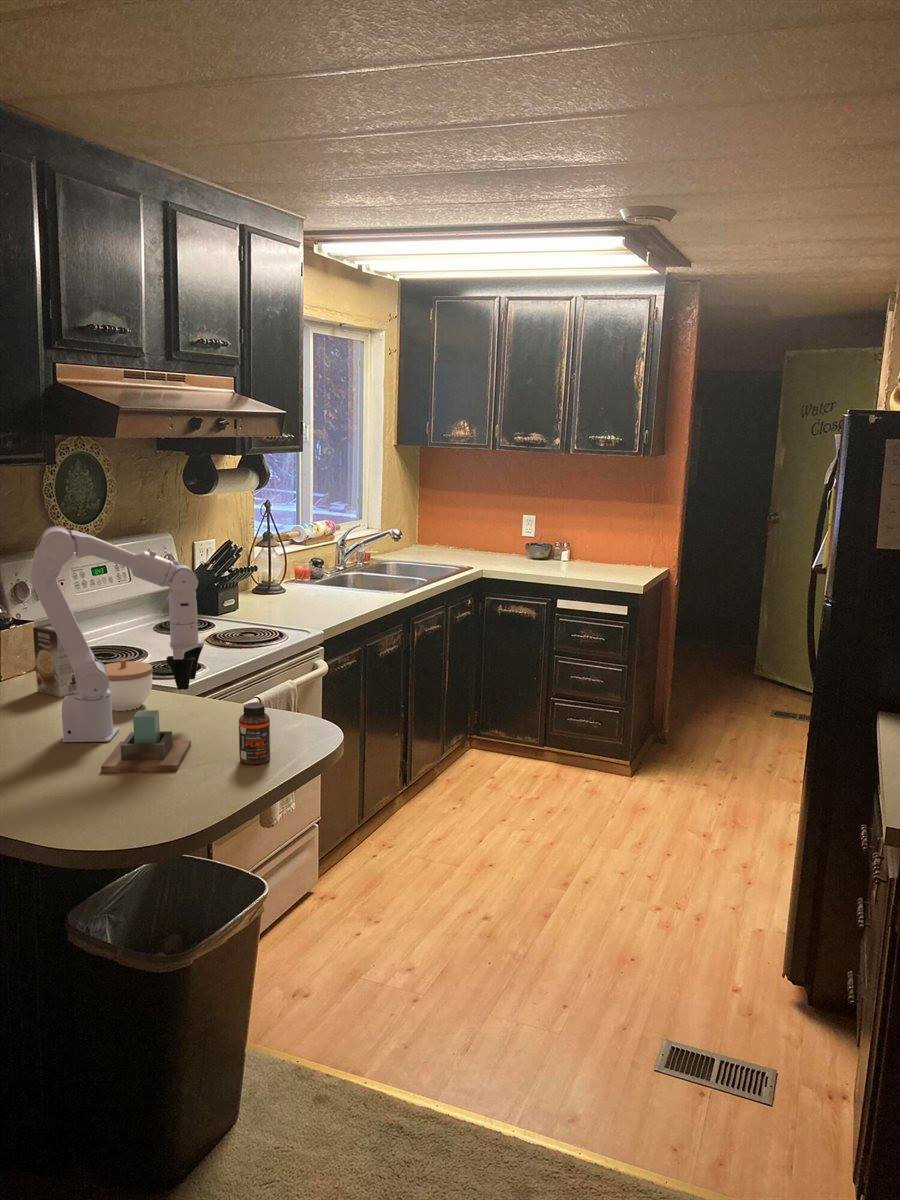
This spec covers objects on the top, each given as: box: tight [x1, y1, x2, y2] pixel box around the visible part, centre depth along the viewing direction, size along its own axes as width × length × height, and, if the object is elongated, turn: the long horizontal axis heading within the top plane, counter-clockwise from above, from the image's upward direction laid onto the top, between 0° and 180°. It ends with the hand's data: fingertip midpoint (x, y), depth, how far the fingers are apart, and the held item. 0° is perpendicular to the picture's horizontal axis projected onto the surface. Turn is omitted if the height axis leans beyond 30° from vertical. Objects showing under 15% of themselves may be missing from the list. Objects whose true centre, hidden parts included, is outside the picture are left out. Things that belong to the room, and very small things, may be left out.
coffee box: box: [32, 623, 77, 698], centre depth 231 cm, size 9×6×16 cm
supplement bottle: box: [238, 701, 271, 766], centre depth 187 cm, size 6×6×11 cm
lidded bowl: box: [104, 658, 153, 712], centre depth 220 cm, size 13×13×11 cm
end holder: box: [100, 730, 192, 773], centre depth 188 cm, size 14×14×4 cm
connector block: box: [132, 709, 161, 744], centre depth 187 cm, size 4×4×8 cm
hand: (186, 683), depth 206 cm, fingers open, 7 cm apart
